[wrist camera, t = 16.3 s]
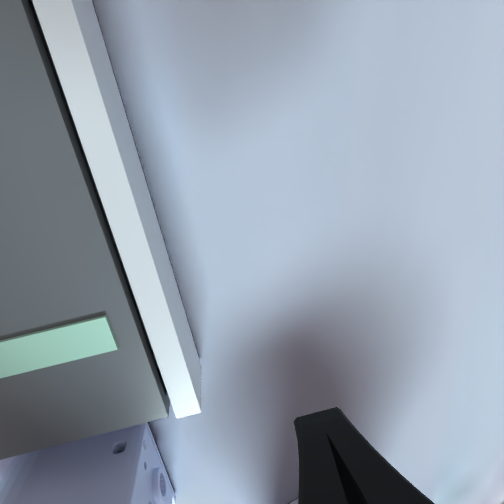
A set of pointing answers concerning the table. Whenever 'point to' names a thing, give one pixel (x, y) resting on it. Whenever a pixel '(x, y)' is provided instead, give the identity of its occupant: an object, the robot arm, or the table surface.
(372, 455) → the robot arm
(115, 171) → the tray
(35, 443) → the block
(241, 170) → the table surface
